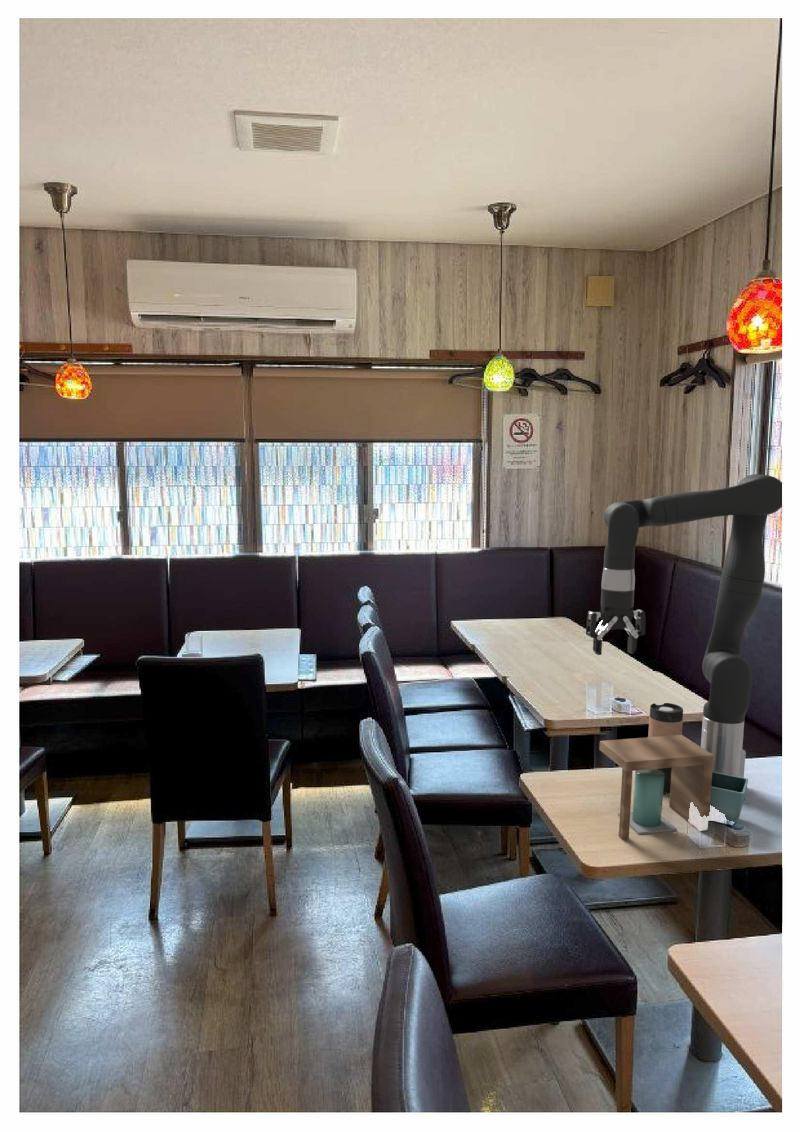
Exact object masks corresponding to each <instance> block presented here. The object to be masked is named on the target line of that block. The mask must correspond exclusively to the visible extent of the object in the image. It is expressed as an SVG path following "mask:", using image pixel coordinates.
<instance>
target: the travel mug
mask: <svg viewBox="0 0 800 1132" xmlns="http://www.w3.org/2000/svg"><path fill="white" fill-rule="evenodd" d="M649 708H650V709H649V720H648V734H647V735H648V736H647V737H660V736H673V735H683V724H684V723H683V722H684V721H683V719H684V717H683V716H684V708H683V706H680V705H678V704H674V703H670V702H665V703H663V704H656V703H652V704H650V706H649ZM658 770H660V771H662V772H663V773H664V774H665V777H664V789H663V794H670V787H671V771H672V768H660V769H658Z"/></svg>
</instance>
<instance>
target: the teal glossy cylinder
mask: <svg viewBox="0 0 800 1132" xmlns="http://www.w3.org/2000/svg"><path fill="white" fill-rule="evenodd" d="M634 775H635V776H634V789H633V801H632V812H633V814H632V820H633V821H634V822H635V823H637V824H639V825H641V826H645V827H656V826H659V825H660V824H661V816H663V815H662V811H663V802H664V801H663V800H664V799H663V797H664V793H663V789H664V777H665V774H664V773H663V772H662V771H660V770H658V769H648V770H636V771H635V774H634Z"/></svg>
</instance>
